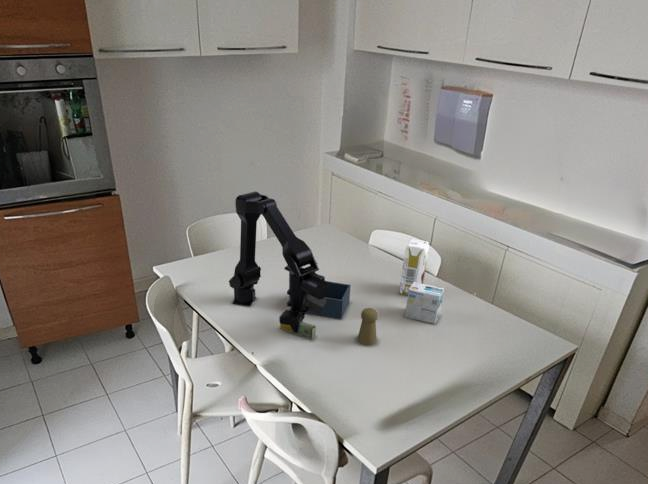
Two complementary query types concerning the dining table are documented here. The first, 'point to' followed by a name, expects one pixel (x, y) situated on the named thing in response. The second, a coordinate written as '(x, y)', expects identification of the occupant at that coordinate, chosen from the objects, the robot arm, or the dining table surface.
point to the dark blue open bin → (335, 301)
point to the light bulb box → (424, 302)
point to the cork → (368, 327)
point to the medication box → (302, 329)
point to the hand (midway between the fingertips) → (297, 330)
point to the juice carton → (413, 264)
